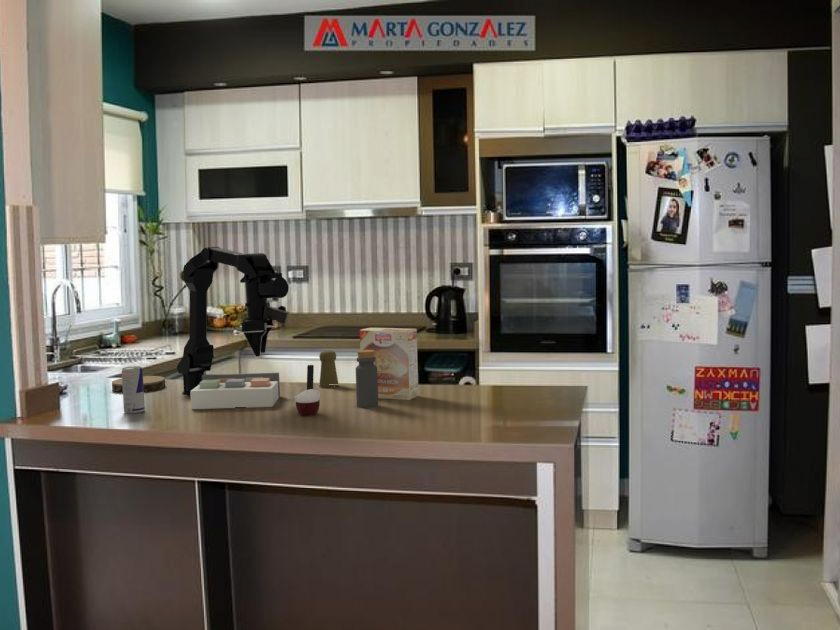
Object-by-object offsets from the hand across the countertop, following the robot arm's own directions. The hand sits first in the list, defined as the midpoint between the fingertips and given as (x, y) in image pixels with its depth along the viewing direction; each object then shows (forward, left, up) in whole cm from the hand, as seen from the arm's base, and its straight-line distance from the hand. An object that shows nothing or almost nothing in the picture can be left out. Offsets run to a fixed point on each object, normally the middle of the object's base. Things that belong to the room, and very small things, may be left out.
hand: (260, 354), depth 232 cm
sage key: (-14, 0, -11) cm, 18 cm away
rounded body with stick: (+15, -17, -14) cm, 27 cm away
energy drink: (-33, -7, -14) cm, 37 cm away
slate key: (-7, 0, -11) cm, 13 cm away
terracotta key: (0, 0, -11) cm, 11 cm away
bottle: (+30, -9, -14) cm, 34 cm away
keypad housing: (-7, +1, -14) cm, 15 cm away
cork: (+17, +24, -14) cm, 32 cm away
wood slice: (-43, +30, -14) cm, 54 cm away
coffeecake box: (+36, +3, -14) cm, 38 cm away
